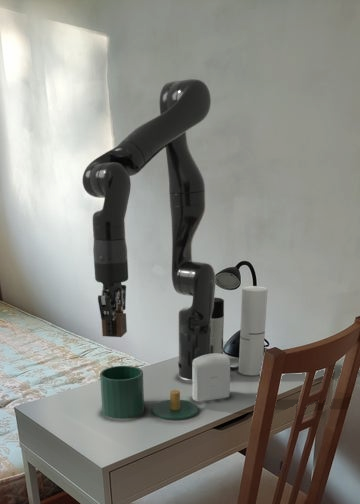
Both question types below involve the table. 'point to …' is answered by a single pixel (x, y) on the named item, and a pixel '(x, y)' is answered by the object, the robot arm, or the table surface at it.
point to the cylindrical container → (252, 329)
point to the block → (117, 325)
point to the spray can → (217, 326)
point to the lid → (175, 408)
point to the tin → (122, 392)
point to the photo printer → (211, 377)
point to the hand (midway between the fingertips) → (114, 332)
